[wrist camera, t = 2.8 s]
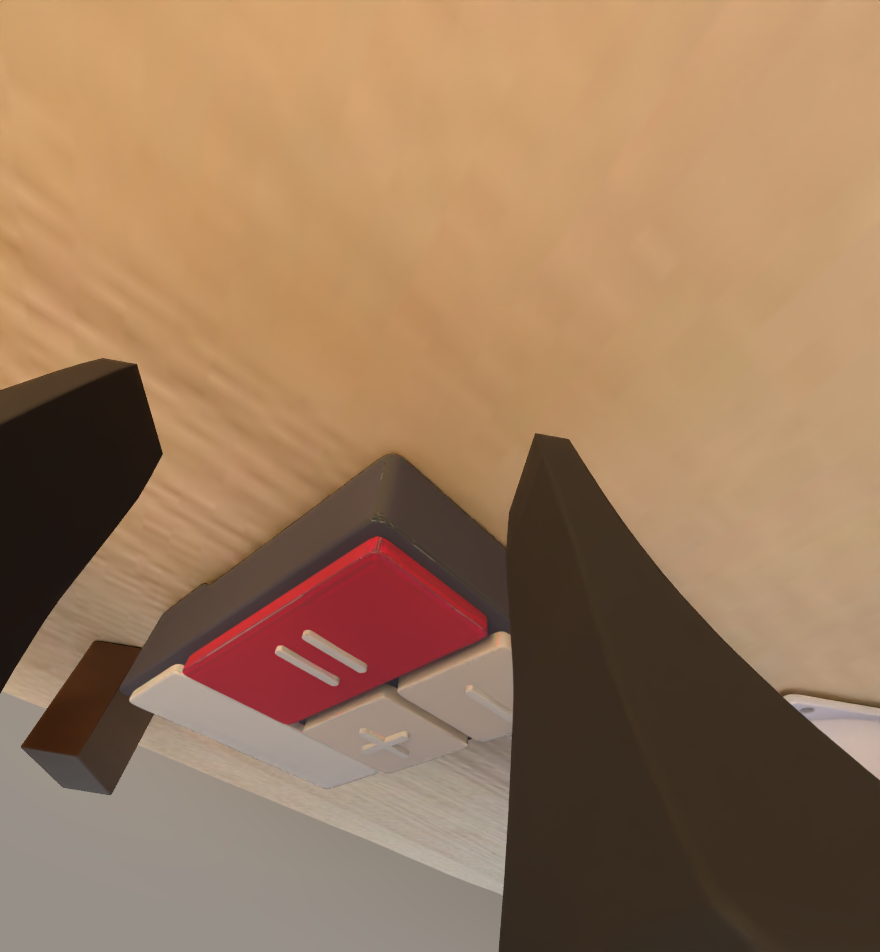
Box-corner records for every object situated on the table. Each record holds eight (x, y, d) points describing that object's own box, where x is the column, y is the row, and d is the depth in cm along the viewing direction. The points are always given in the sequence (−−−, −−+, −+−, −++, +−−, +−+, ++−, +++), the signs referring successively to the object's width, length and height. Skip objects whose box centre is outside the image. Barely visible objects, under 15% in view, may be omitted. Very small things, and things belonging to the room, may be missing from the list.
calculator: (612, 717, 17) (326, 806, 24) (590, 610, 20) (345, 715, 27) (372, 534, 12) (101, 711, 19) (396, 433, 15) (159, 615, 22)
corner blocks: (620, 727, 25) (640, 848, 21) (587, 764, 28) (599, 875, 25) (94, 639, 25) (19, 747, 21) (122, 687, 28) (61, 787, 24)
